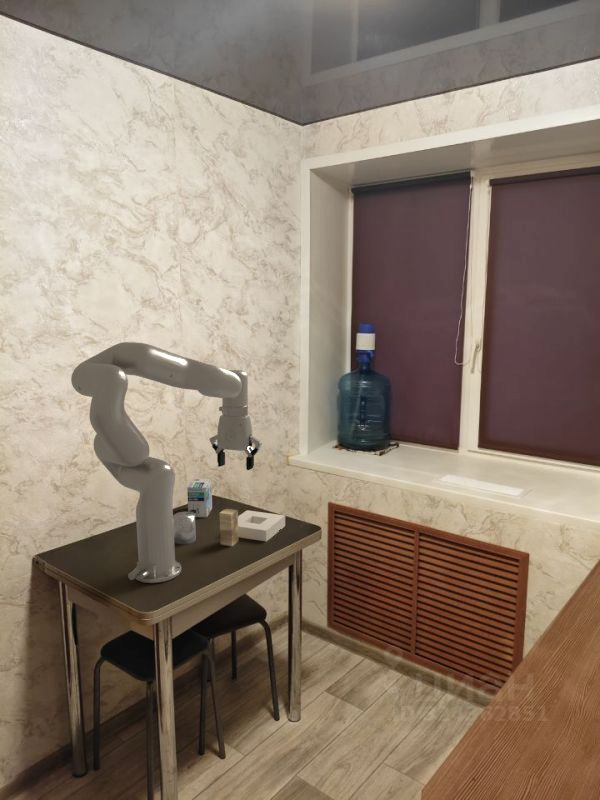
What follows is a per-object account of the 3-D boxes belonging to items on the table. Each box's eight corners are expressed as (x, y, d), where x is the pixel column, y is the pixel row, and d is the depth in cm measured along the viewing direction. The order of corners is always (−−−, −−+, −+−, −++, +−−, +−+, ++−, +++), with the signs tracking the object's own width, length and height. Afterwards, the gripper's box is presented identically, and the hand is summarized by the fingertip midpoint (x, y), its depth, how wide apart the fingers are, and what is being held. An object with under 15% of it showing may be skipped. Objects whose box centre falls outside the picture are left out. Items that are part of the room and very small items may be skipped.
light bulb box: (207, 517, 198) (206, 487, 196) (187, 517, 198) (186, 487, 197) (212, 507, 209) (211, 478, 207) (194, 507, 209) (192, 478, 207)
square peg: (232, 546, 174) (231, 514, 172) (220, 544, 175) (219, 512, 174) (238, 541, 177) (237, 510, 176) (227, 539, 179) (226, 508, 177)
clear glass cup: (188, 545, 175) (187, 520, 174) (169, 542, 177) (168, 517, 176) (200, 537, 181) (199, 513, 180) (182, 534, 183) (181, 510, 182)
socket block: (266, 541, 177) (266, 530, 177) (226, 535, 182) (226, 524, 182) (285, 525, 190) (285, 515, 189) (247, 520, 195) (247, 510, 195)
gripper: (203, 411, 173) (204, 467, 176) (255, 415, 167) (255, 473, 169) (216, 408, 180) (217, 461, 182) (266, 411, 174) (266, 467, 176)
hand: (235, 467), depth 176 cm, fingers open, 9 cm apart
